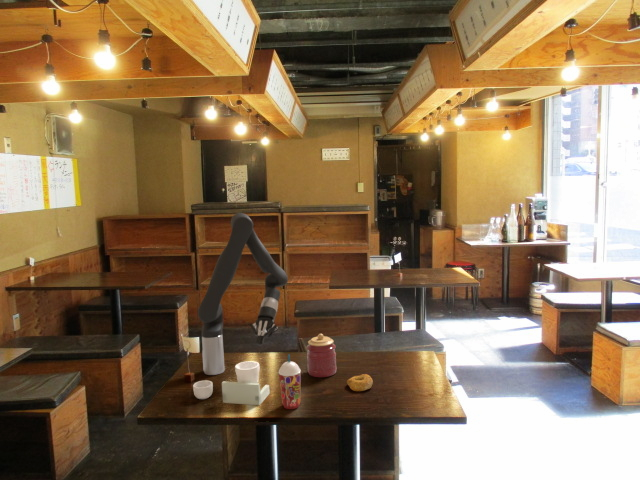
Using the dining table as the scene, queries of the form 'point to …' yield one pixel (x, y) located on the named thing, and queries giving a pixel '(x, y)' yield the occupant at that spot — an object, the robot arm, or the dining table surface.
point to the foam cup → (247, 372)
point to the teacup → (203, 389)
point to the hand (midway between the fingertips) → (259, 345)
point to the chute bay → (244, 393)
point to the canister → (321, 357)
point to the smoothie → (290, 384)
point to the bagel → (360, 382)
